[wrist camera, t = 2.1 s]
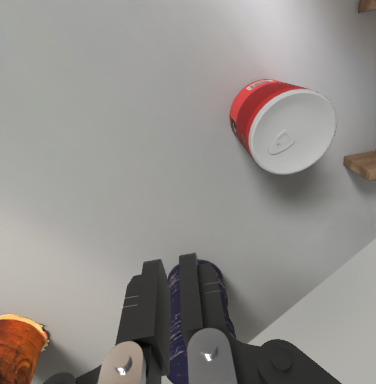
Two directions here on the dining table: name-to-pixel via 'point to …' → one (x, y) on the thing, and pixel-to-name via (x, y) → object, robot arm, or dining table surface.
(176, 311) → the storage jar
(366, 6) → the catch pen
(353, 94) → the dining table surface
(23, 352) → the vessel
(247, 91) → the canned food
